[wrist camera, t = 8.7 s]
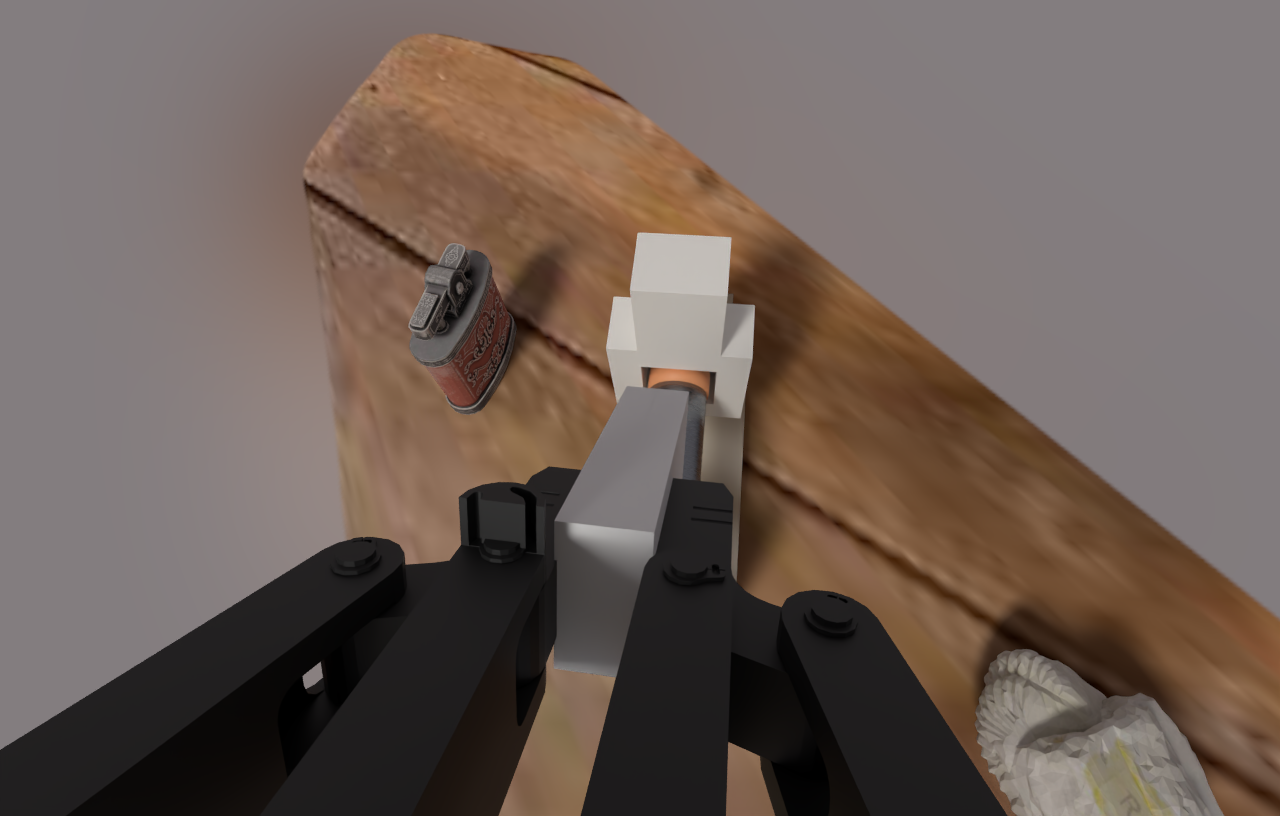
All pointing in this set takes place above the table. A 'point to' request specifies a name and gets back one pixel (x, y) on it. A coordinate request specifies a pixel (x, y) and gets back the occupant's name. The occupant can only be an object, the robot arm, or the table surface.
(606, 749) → the robot arm
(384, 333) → the table surface
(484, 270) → the lighter
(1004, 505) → the table surface
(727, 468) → the pipe stand
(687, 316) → the white pipe saddle block
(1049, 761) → the fossil replica
